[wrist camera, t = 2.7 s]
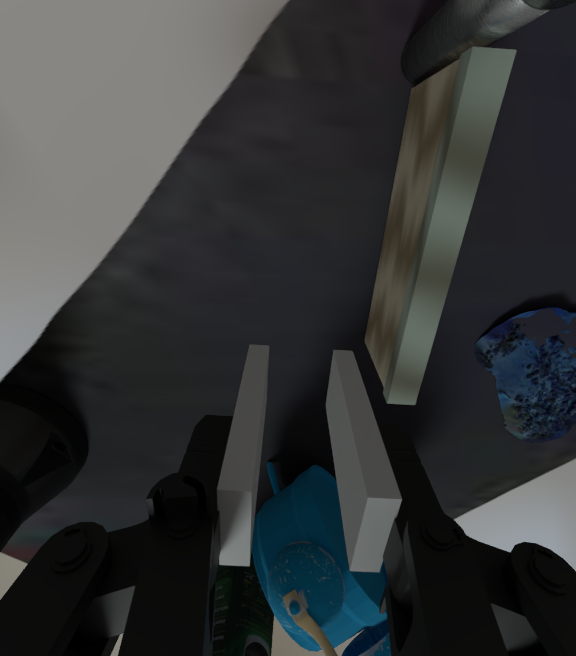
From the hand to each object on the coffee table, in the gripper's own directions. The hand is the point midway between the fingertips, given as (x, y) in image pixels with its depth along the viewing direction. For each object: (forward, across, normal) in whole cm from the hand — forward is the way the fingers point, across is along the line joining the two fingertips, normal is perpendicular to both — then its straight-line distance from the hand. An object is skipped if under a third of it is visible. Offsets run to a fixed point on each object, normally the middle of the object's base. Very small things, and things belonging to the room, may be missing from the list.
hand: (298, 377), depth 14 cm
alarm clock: (+19, +5, -28) cm, 34 cm away
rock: (+19, +28, -10) cm, 35 cm away
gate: (+17, +9, +3) cm, 19 cm away
